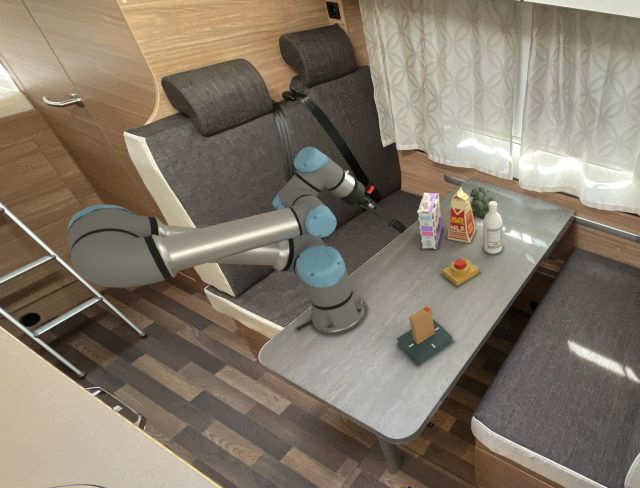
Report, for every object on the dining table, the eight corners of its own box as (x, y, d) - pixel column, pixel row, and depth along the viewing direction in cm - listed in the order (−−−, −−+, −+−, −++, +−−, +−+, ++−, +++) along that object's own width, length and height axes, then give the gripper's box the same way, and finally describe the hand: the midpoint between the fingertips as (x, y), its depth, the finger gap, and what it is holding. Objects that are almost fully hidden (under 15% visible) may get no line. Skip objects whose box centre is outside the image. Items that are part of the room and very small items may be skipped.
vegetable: (467, 196, 176) (497, 186, 170) (473, 224, 175) (503, 215, 169) (452, 191, 165) (484, 180, 159) (458, 221, 164) (490, 212, 158)
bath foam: (505, 249, 152) (507, 204, 139) (491, 256, 148) (491, 210, 135) (494, 240, 156) (494, 195, 143) (480, 247, 152) (478, 202, 139)
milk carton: (469, 242, 154) (467, 197, 141) (446, 239, 156) (442, 194, 142) (475, 229, 161) (474, 185, 148) (453, 226, 162) (450, 181, 149)
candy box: (437, 249, 151) (433, 212, 140) (421, 249, 151) (416, 211, 140) (442, 228, 161) (439, 192, 150) (428, 227, 161) (423, 191, 150)
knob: (417, 344, 113) (412, 320, 106) (413, 340, 114) (408, 316, 108) (434, 333, 116) (431, 309, 110) (430, 329, 118) (427, 305, 111)
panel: (418, 366, 112) (417, 359, 109) (398, 344, 117) (396, 337, 115) (452, 342, 118) (451, 335, 116) (431, 323, 123) (430, 316, 121)
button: (459, 270, 137) (459, 266, 135) (452, 265, 138) (452, 261, 137) (467, 266, 139) (467, 262, 137) (461, 261, 140) (460, 257, 139)
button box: (456, 286, 136) (456, 277, 133) (442, 274, 140) (441, 265, 138) (479, 273, 141) (478, 264, 139) (464, 262, 146) (464, 253, 143)
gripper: (376, 192, 112) (420, 227, 130) (334, 164, 126) (380, 200, 143) (359, 213, 112) (406, 246, 129) (319, 183, 125) (367, 217, 143)
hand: (392, 222), depth 136 cm, fingers open, 13 cm apart
